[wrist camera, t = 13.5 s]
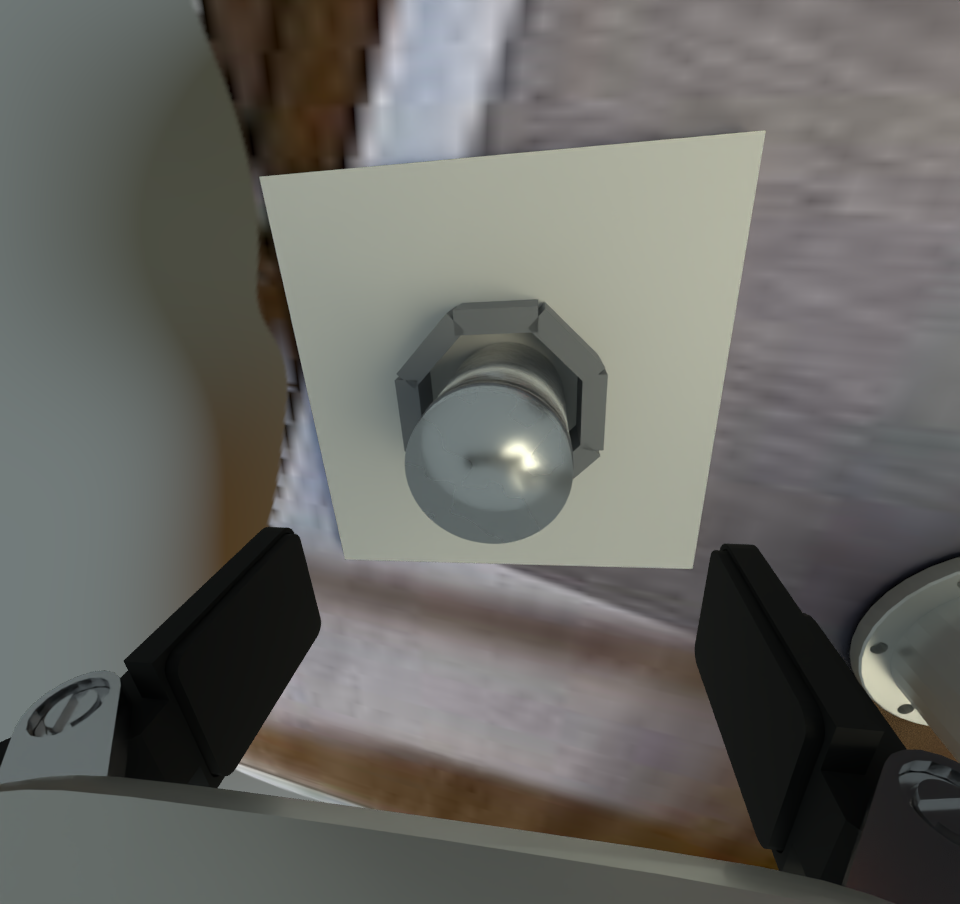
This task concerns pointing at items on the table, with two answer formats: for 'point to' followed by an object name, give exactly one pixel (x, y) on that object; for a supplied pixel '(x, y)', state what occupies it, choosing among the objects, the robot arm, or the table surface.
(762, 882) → the robot arm
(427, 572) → the table surface
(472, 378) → the piston
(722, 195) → the holder
